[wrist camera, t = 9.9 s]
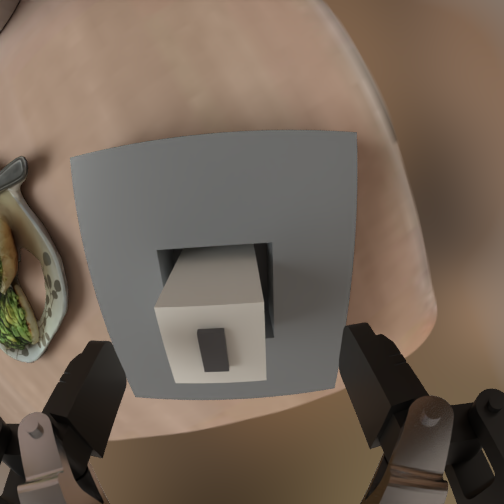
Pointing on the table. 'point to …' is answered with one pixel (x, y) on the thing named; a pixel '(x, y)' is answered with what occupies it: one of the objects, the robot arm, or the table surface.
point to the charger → (214, 316)
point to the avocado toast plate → (5, 275)
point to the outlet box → (225, 233)
